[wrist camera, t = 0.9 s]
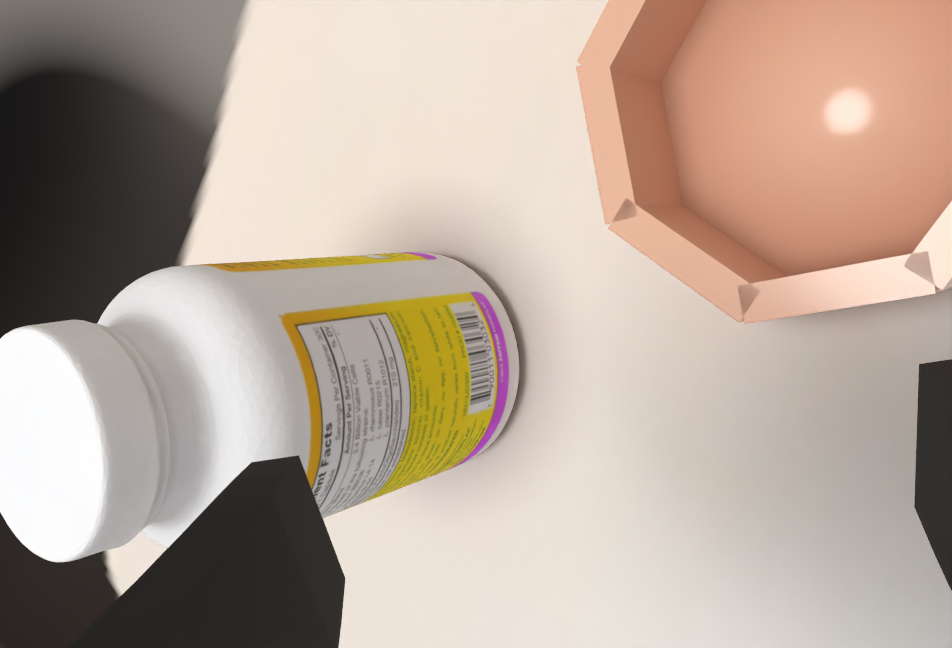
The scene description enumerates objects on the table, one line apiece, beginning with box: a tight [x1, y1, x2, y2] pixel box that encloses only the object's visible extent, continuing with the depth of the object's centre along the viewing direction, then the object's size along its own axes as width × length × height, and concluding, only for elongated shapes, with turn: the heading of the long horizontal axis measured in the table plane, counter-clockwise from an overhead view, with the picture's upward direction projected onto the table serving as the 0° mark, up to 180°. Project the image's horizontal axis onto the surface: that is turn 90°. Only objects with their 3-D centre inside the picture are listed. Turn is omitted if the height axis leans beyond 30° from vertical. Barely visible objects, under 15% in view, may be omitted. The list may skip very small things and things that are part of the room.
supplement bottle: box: [0, 253, 519, 562], centre depth 23 cm, size 7×7×13 cm
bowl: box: [576, 0, 952, 324], centre depth 19 cm, size 9×9×4 cm
